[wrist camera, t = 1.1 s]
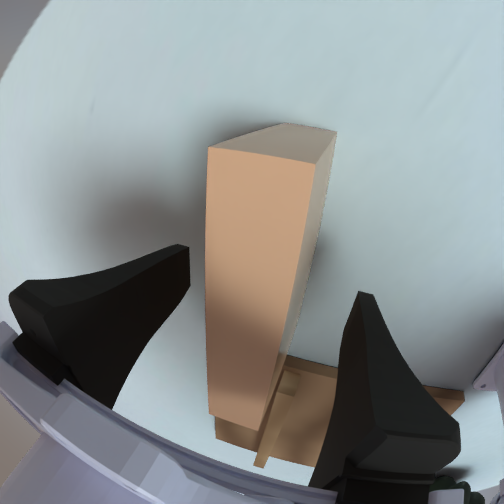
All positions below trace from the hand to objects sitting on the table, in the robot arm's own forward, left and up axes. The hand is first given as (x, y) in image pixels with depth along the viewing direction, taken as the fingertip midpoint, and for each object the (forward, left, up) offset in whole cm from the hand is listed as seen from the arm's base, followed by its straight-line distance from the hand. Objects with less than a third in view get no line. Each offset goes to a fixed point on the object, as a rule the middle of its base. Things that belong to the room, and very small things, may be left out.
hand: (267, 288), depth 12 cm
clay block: (0, 0, -5) cm, 5 cm away
